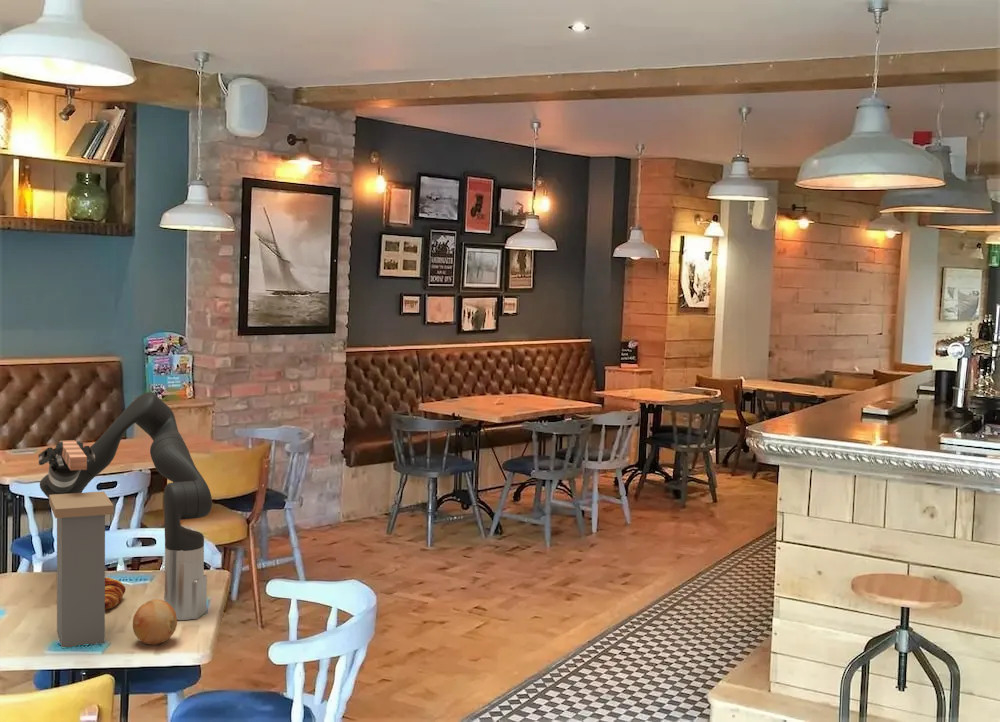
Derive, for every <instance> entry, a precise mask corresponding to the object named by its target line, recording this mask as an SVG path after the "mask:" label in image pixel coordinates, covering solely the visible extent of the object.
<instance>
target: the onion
mask: <svg viewBox="0 0 1000 722" xmlns="http://www.w3.org/2000/svg"><path fill="white" fill-rule="evenodd" d="M177 626H178V620H177V617H176V613H175V611H174V609H173V607H172V606H171V605H170V604H168V603H167V602H165V600H163V599H158V598H155V599H150V600H148V601H146V602H145V603H143V604H141V605H140V606H139V607H138V608H137V610H135V613H134V615H133V618H132V630H133V633H134V635H135V636H136V638H137V639H138V640H139V641H141V643H143V644H144V643H145V644H148V645H154V646H155V645H158V644H161V643H164V642H165V641H167V640H170V638H171V637H172V636H173V635H174V633H175V632H176V631H177Z"/></svg>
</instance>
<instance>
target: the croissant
mask: <svg viewBox="0 0 1000 722" xmlns="http://www.w3.org/2000/svg"><path fill="white" fill-rule="evenodd" d="M125 593H126V587H125V585H124V584H123V583H122V582H121V581H120V580H119V579H115V578H113V577H110V576H109V577H107V576H105V610H109V609H112V608H115V607H117V605H118V604H119V603H120V602H121V601H122V599H123V596H124V594H125Z"/></svg>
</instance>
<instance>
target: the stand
mask: <svg viewBox="0 0 1000 722" xmlns="http://www.w3.org/2000/svg"><path fill="white" fill-rule="evenodd" d="M48 503H49V506H50V508H51V511H52V514H53V516H54V518H55V519H56V632H57V636H58V639H59V643H61V644H60V646H61V647H60V648H62V647H68V648H73V647H72V646H76V647H78V646H77V645H84V644H92V645H97V644H96V643H100V644H105V643H104V642H106V640H105V637H106V633H105V631H106V630H105V628H106V627H105V626H106V623H105V622H106V617H105V616H106V614H105V613H106V609H105V577H106V515H114V504H113V503H112V501H111V500H110V498H109V496H108V495H107V493H106V492H105V491H89V492H82V493H70V494H54V495H49V498H48ZM84 646H85V645H84Z"/></svg>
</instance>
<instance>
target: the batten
mask: <svg viewBox="0 0 1000 722" xmlns="http://www.w3.org/2000/svg"><path fill="white" fill-rule="evenodd" d="M62 441H63V451H62V457H63V459H64V460H65V462H66V464H67V465H68V467H69V469H70V470H87V456H86V455H85V454H84V452H83V451H82V449H81V448H80V447H79V445H78V444H77V441H76V440H75V439H73V440H72V439H70V440H67V439H66V440H59V442H62Z"/></svg>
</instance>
